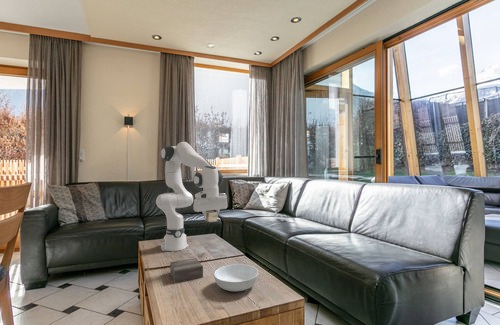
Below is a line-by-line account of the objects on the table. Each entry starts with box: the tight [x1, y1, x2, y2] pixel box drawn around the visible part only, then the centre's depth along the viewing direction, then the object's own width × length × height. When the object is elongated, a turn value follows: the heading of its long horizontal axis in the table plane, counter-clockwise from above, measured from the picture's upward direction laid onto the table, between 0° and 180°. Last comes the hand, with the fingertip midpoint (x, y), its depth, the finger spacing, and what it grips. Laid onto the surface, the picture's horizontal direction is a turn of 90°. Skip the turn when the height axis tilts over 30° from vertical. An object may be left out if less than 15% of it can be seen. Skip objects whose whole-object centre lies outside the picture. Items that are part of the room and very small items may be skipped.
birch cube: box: [204, 210, 218, 223], centre depth 153 cm, size 5×5×5 cm
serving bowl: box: [213, 263, 259, 292], centre depth 126 cm, size 21×21×7 cm
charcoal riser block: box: [169, 257, 204, 284], centre depth 140 cm, size 14×14×6 cm
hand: (211, 218), depth 153 cm, fingers closed on birch cube, 5 cm apart
